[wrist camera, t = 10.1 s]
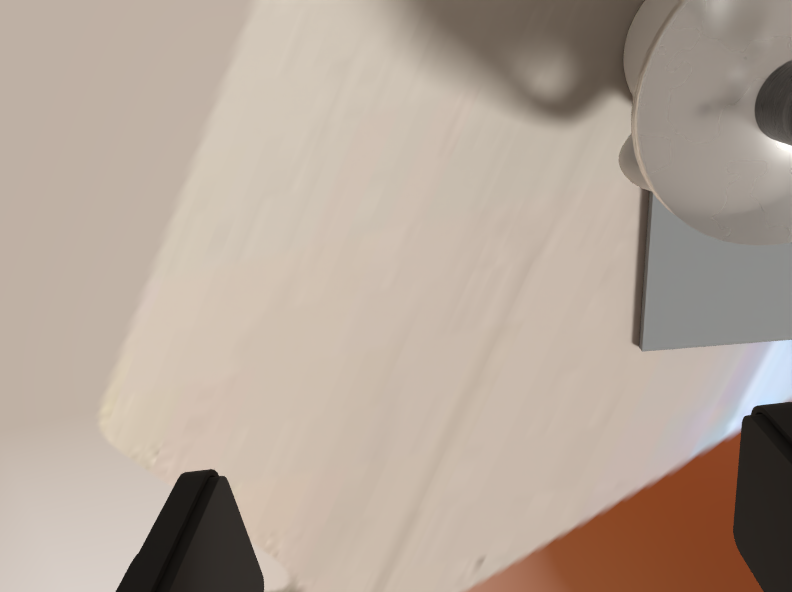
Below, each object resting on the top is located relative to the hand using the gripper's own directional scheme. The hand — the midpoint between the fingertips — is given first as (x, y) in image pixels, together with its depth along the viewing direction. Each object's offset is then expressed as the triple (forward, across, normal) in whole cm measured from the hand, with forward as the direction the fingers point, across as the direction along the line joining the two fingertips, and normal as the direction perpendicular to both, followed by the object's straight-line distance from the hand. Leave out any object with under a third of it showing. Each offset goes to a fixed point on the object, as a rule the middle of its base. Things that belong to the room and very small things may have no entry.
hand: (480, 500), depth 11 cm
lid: (+17, -14, -3) cm, 22 cm away
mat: (+28, -18, +9) cm, 35 cm away
